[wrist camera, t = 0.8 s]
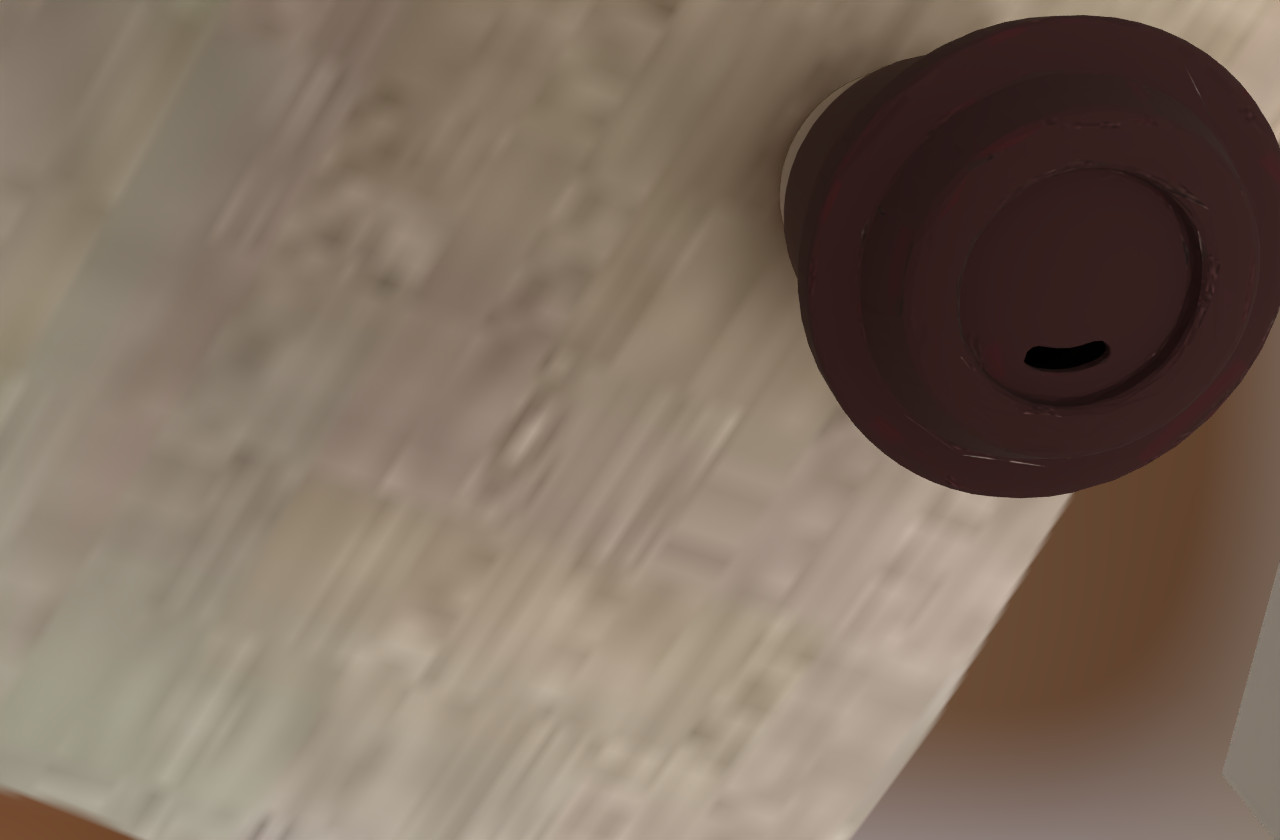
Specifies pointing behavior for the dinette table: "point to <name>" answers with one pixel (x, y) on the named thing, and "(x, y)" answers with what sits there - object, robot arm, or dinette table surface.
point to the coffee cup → (1036, 250)
